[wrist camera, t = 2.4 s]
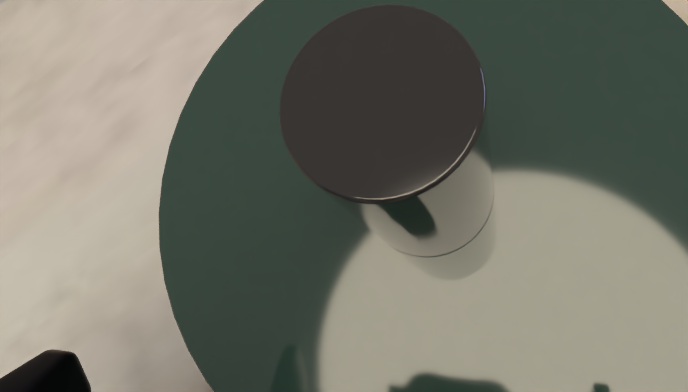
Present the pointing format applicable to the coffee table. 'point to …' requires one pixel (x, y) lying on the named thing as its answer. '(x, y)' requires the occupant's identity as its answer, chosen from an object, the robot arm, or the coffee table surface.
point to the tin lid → (435, 199)
